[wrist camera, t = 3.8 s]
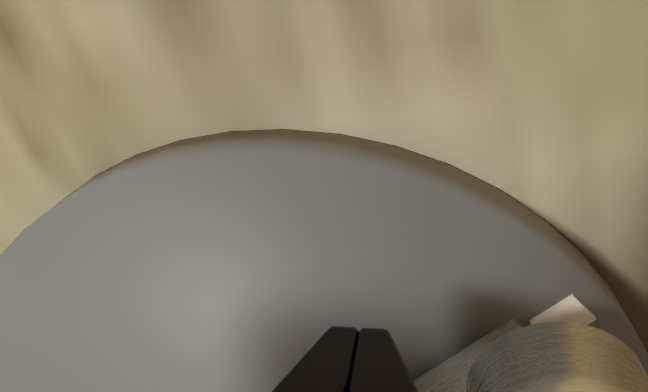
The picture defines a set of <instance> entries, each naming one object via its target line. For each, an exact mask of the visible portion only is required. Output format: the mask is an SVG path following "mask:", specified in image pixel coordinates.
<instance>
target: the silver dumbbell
mask: <svg viewBox="0 0 648 392" xmlns="http://www.w3.org/2000/svg"><path fill="white" fill-rule="evenodd" d="M413 382H414V384H415V386H416V388H417V390H418V392H648V375H647V373H646V371H645V369H644V367H643V366H642V364H641V362H640V360H639V359H638V357H637V355H636V354H635V353H634V352H633V351H632V349H631V348H630V347H629V346H628V345H626V344H625V343H624V342H623V341H622V340H620V339H618V338H617V337H615V336H614V335H612V334H610V333H608V332H606V331H604V330H601V329H598V328H595V327H592V326H588V325H584V324H579V323H571V322H547V323H539V324H533V325H529V326H525V327H521V326H520V325H519V324H518V323H517V322H516V321H515V320H514V319H512V320H510V321H508V322H507V323H505V324H504V325H502V326H500V327H499V328H497V329H496V330H494V331H492V332H491V333H489V334H488V335H486V336H484V337H483V338H481V339H480V340H478V341H477V342H475V343H473V344H472V345H470V346H469V347H467V348H465V349H464V350H462V351H461V352H459V353H457V354H456V355H454V356H453V357H451V358H449V359H448V360H446V361H445V362H443V363H441V364H440V365H438V366H437V367H435V368H433V369H432V370H430V371H429V372H427V373H425V374H424V375H422V376H421V377H419V378H418V379H416V380H414V381H413Z"/></svg>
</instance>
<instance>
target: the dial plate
mask: <svg viewBox="0 0 648 392" xmlns="http://www.w3.org/2000/svg"><path fill="white" fill-rule="evenodd" d="M512 319H514V320H515V321H516V322H517V323H518V324H519V325H520V326H521V327H525V326H529V325H533V324H539V323H547V322H571V323H579V324H584V325H588V326H592V327H595V328H598V329H601V330H604V331H606V332H608V333H610V334H612V335H614V336H615V337H617V338H618V339H620V340H622V341H623V342H624V343H625V344H626V345H628V346H629V347H630V348H631V349H632V351H633V352H634V353H635V354H636V355H637V357H638V359H639V360H640V362H641V364H642V366H643V367H644V369H645V371H646V373H647V375H648V353H647V351H646V349H645V347H644V345H643V343H642V342H641V340H640V338H639V336H638V334H637V333H636V331H635V329H634V327H633V325H632V324H631V322H630V320H629V319H628V317H627V315H626V313H625V312H624V310H623V308H622V307H621V305H620V303H619V302H618V300H617V298H616V296H615V295H614V293H613V291H612V290H611V288H610V287H609V286H608V285H607V283H606V282H605V281H604V280H603V278H602V277H601V276H600V275H599V274H598V272H597V271H596V270H595V269H594V268H593V266H592V265H591V264H590V263H589V262H588V260H587V259H586V258H585V257H584V256H583V254H582V253H581V252H580V251H579V250H578V249H576V248H575V247H574V246H573V245H572V244H571V243H570V242H569V241H568V240H566V239H565V238H564V237H563V236H562V235H561V234H560V233H559V232H557V231H556V230H555V229H554V228H553V227H552V226H551V225H550V224H548V223H547V222H546V221H545V220H544V219H543V218H541V217H540V216H538V215H537V214H535V213H534V212H532V211H531V210H529V209H528V208H526V207H525V206H523V205H522V204H520V203H519V202H517V201H516V200H514V199H513V198H511V197H510V196H508V195H507V194H505V193H504V192H502V191H501V190H499V189H498V188H496V187H494V186H492V185H490V184H488V183H486V182H484V181H482V180H479V179H477V178H475V177H473V176H471V175H469V174H467V173H465V172H463V171H461V170H459V169H457V168H455V167H453V166H451V165H449V164H446V163H444V162H441V161H438V160H435V159H432V158H429V157H426V156H423V155H420V154H417V153H415V152H412V151H409V150H406V149H403V148H400V147H397V146H394V145H389V144H385V143H380V142H375V141H371V140H366V139H361V138H356V137H352V136H347V135H342V134H335V133H324V132H312V131H300V130H288V129H274V130H250V131H229V132H224V133H218V134H212V135H207V136H201V137H195V138H190V139H184V140H179V141H176V142H173V143H170V144H167V145H164V146H161V147H158V148H155V149H152V150H149V151H146V152H143V153H140V154H137V155H134V156H132V157H130V158H128V159H127V160H125V161H123V162H121V163H119V164H117V165H115V166H113V167H111V168H109V169H107V170H105V171H103V172H101V173H99V174H97V175H96V176H94V177H93V178H92V179H90V180H89V181H87V182H86V183H85V184H83V185H82V186H81V187H79V188H78V189H77V190H75V191H74V192H72V193H71V194H70V195H68V196H67V197H66V198H64V199H63V200H62V201H60V202H59V203H58V204H57V205H55V206H54V207H53V208H51V209H50V210H49V211H47V212H46V213H45V214H44V215H42V216H41V217H40V218H38V219H37V220H36V221H35V222H33V223H32V224H31V225H29V226H28V227H27V228H25V229H24V231H23V232H22V233H21V234H20V235H19V236H18V237H17V238H16V239H15V240H14V241H13V242H12V243H11V244H10V245H9V246H8V248H7V249H6V250H5V251H4V252H3V253H2V254H1V255H0V392H271V391H272V390H273V389H274V388H275V387H276V386H277V385H278V383H279V382H280V381H281V380H282V379H283V378H284V377H285V376H286V375H287V374H288V372H289V371H290V370H291V369H292V368H293V367H294V366H295V365H296V364H297V363H298V361H299V360H300V359H301V358H302V357H303V356H304V355H305V354H306V353H307V351H308V350H309V349H310V348H311V347H312V346H313V345H314V344H315V343H316V342H317V340H318V339H319V338H320V337H321V336H322V335H323V334H324V333H325V332H326V331H327V329H328V328H330V327H332V326H346V327H356V328H357V329H358V331H360V329H361V328H383V329H386V330H388V331H389V333H390V335H391V337H392V339H393V341H394V343H395V345H396V347H397V349H398V351H399V353H400V355H401V357H402V359H403V361H404V363H405V365H406V367H407V369H408V371H409V373H410V375H411V378H412V380H413V381H414V380H416V379H418V378H419V377H421V376H422V375H424V374H425V373H427V372H429V371H430V370H432V369H433V368H435V367H437V366H438V365H440V364H441V363H443V362H445V361H446V360H448V359H449V358H451V357H453V356H454V355H456V354H457V353H459V352H461V351H462V350H464V349H465V348H467V347H469V346H470V345H472V344H473V343H475V342H477V341H478V340H480V339H481V338H483V337H484V336H486V335H488V334H489V333H491V332H492V331H494V330H496V329H497V328H499V327H500V326H502V325H504V324H505V323H507V322H508V321H510V320H512Z"/></svg>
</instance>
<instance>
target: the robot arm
mask: <svg viewBox="0 0 648 392" xmlns="http://www.w3.org/2000/svg"><path fill="white" fill-rule="evenodd" d="M271 392H418V390H417V388H416V386H415V384H414V382H413V380H412V378H411V375H410V373H409V371H408V369H407V367H406V365H405V363H404V361H403V359H402V357H401V355H400V353H399V351H398V349H397V347H396V345H395V343H394V341H393V339H392V337H391V335H390V333H389V331H388V330H386V329H383V328H361V329H360V331H358V329H357V328H356V327H346V326H332V327H330V328H328V329H327V331H326V332H325V333H324V334H323V335H322V336H321V337H320V338H319V339H318V340H317V342H316V343H315V344H314V345H313V346H312V347H311V348H310V349H309V350H308V351H307V353H306V354H305V355H304V356H303V357H302V358H301V359H300V360H299V361H298V363H297V364H296V365H295V366H294V367H293V368H292V369H291V370H290V371H289V372H288V374H287V375H286V376H285V377H284V378H283V379H282V380H281V381H280V382H279V383H278V385H277V386H276V387H275V388H274V389H273V390H272V391H271Z"/></svg>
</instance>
